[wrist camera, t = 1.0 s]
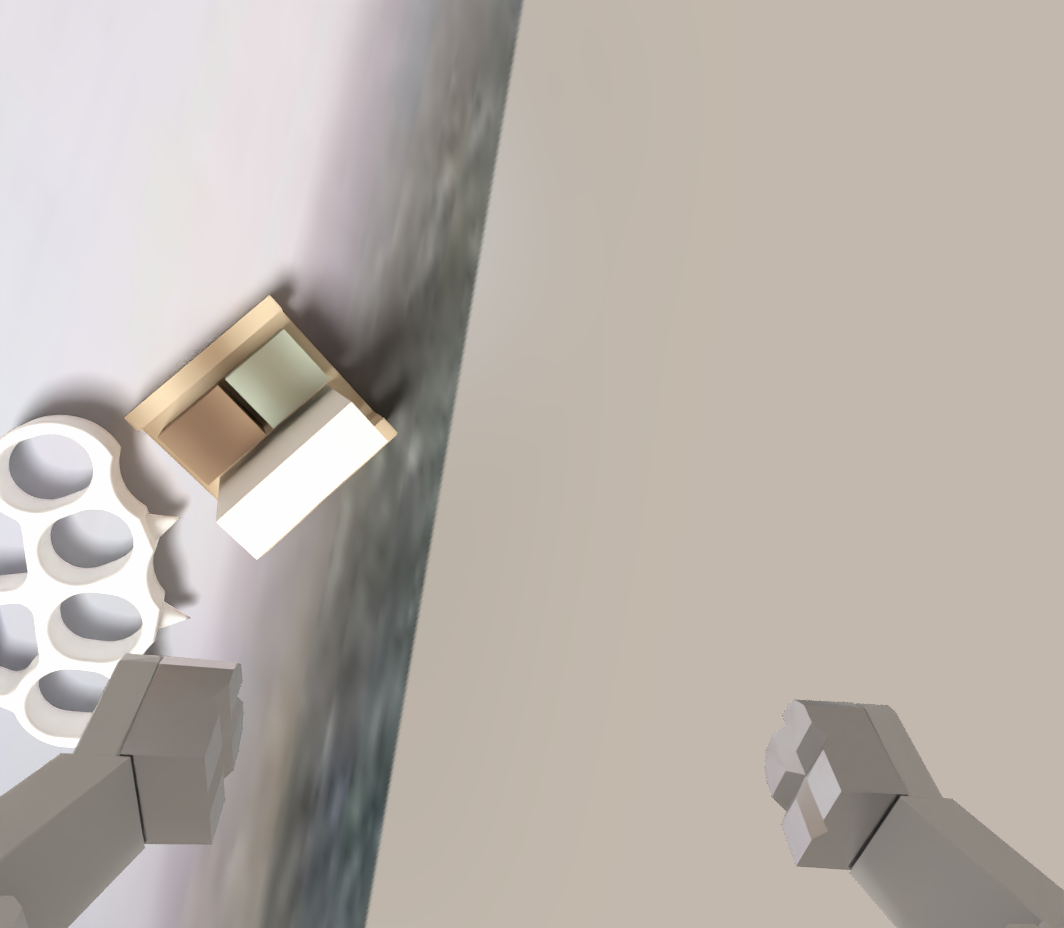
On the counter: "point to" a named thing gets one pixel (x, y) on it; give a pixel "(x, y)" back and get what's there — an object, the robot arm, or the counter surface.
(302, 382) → the offcuts
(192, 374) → the oak rack
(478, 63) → the counter surface
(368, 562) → the counter surface
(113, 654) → the knuckle duster
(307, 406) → the cream board
